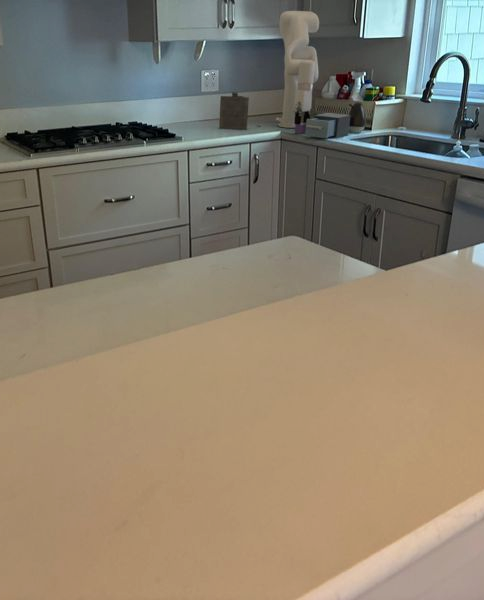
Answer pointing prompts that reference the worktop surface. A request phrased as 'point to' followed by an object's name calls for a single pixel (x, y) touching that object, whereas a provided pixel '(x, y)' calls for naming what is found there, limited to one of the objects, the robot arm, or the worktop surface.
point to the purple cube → (300, 128)
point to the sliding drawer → (320, 127)
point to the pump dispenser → (357, 117)
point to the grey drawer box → (338, 123)
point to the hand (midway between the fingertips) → (301, 123)
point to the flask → (233, 112)
